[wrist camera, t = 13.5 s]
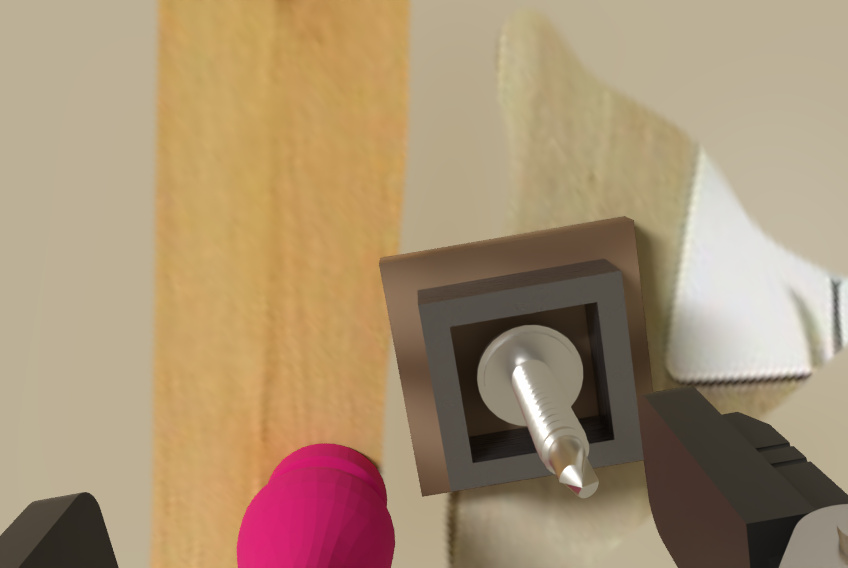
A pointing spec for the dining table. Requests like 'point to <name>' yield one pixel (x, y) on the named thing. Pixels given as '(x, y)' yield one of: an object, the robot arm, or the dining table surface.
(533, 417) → the screw
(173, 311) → the dining table surface
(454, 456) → the socket
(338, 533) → the pepper mill
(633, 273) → the walnut board
